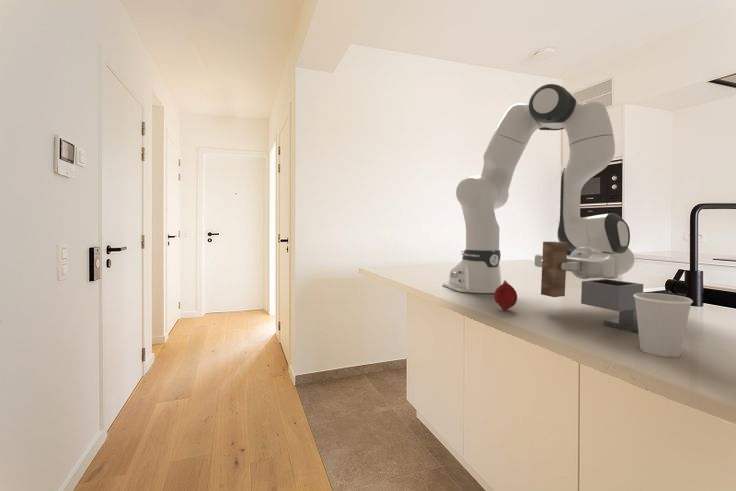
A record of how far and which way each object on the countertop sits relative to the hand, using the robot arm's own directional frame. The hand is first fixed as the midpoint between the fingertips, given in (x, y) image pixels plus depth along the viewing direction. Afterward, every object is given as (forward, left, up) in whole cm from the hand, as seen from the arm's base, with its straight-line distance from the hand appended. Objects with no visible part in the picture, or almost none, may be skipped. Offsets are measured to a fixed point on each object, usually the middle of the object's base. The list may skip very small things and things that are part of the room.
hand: (551, 264), depth 96 cm
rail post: (0, +1, -8) cm, 8 cm away
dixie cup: (+29, -8, -13) cm, 33 cm away
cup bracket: (+17, 0, -13) cm, 21 cm away
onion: (-7, -9, -13) cm, 17 cm away
